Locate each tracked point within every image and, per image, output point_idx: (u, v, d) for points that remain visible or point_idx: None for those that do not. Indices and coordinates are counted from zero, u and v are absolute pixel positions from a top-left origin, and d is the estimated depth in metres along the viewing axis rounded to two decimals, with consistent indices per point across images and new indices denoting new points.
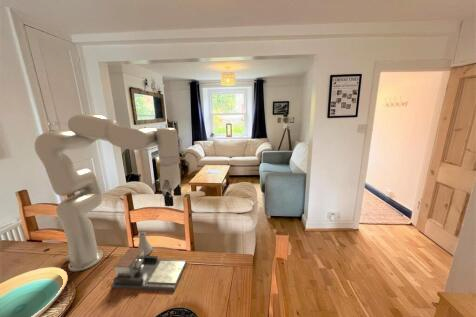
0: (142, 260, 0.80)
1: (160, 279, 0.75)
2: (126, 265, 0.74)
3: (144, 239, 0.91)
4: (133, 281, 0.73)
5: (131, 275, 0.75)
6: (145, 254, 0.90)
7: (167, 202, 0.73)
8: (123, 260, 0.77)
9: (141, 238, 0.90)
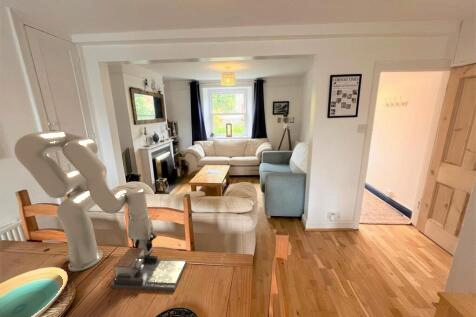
0: (142, 260, 0.80)
1: (160, 279, 0.75)
2: (126, 265, 0.74)
3: None
4: (133, 281, 0.73)
5: (131, 275, 0.75)
6: (145, 254, 0.90)
7: (150, 245, 0.92)
8: (123, 260, 0.77)
9: None
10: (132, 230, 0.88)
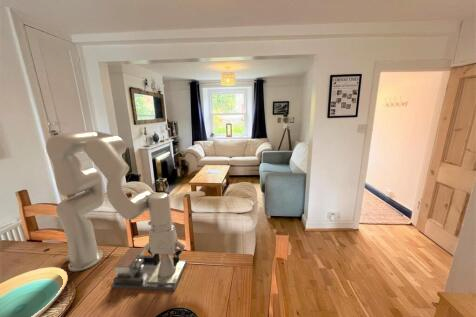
0: (142, 260, 0.80)
1: (160, 279, 0.75)
2: (126, 265, 0.74)
3: (167, 256, 0.77)
4: (133, 281, 0.73)
5: (131, 275, 0.75)
6: (168, 274, 0.76)
7: (177, 260, 0.77)
8: (123, 260, 0.77)
9: (164, 255, 0.76)
10: (154, 243, 0.73)
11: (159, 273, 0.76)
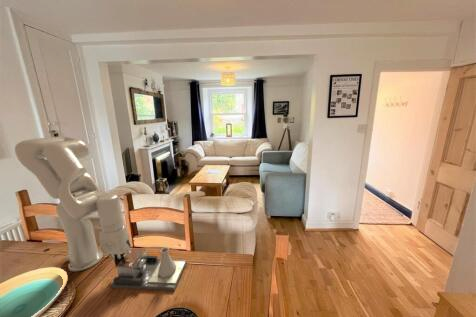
0: (144, 260, 0.80)
1: (160, 279, 0.75)
2: (129, 265, 0.74)
3: (167, 256, 0.77)
4: (133, 281, 0.73)
5: (133, 275, 0.75)
6: (168, 274, 0.76)
7: None
8: (126, 260, 0.77)
9: (164, 255, 0.76)
10: (104, 243, 0.75)
11: (159, 273, 0.76)
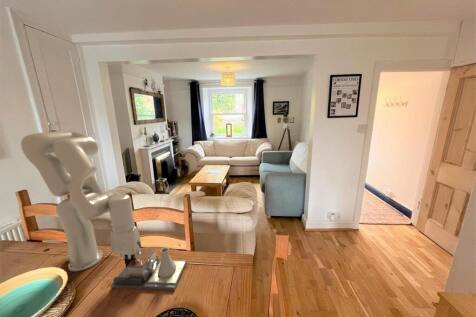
0: (154, 260, 0.80)
1: (160, 279, 0.75)
2: (139, 265, 0.74)
3: (167, 256, 0.77)
4: (133, 281, 0.73)
5: (144, 276, 0.75)
6: (168, 274, 0.76)
7: None
8: (136, 260, 0.76)
9: (164, 255, 0.76)
10: (115, 244, 0.75)
11: (159, 273, 0.76)
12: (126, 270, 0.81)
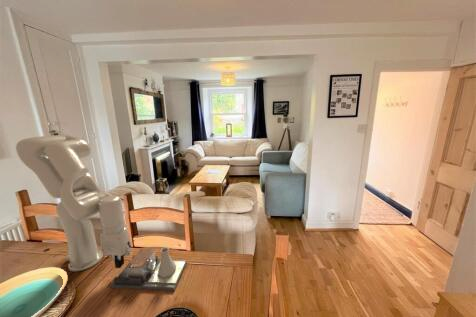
0: (154, 260, 0.80)
1: (160, 279, 0.75)
2: (138, 265, 0.74)
3: (167, 256, 0.77)
4: (133, 281, 0.73)
5: (143, 276, 0.75)
6: (168, 274, 0.76)
7: (122, 262, 0.80)
8: (135, 260, 0.76)
9: (164, 255, 0.76)
10: (105, 244, 0.75)
11: (159, 273, 0.76)
12: (126, 270, 0.81)
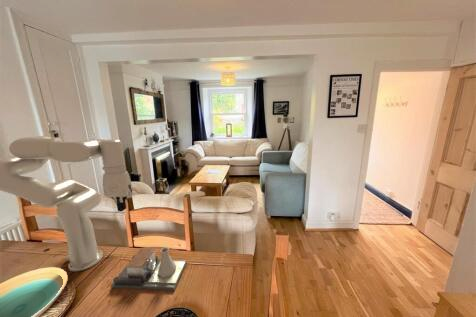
0: (154, 260, 0.80)
1: (160, 279, 0.75)
2: (138, 265, 0.74)
3: (167, 256, 0.77)
4: (133, 281, 0.73)
5: (143, 276, 0.75)
6: (168, 274, 0.76)
7: (124, 206, 0.83)
8: (135, 260, 0.76)
9: (164, 255, 0.76)
10: (107, 186, 0.78)
11: (159, 273, 0.76)
12: (126, 270, 0.81)
